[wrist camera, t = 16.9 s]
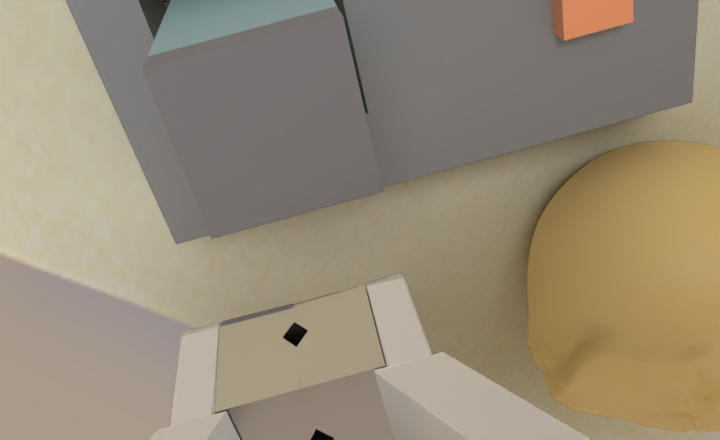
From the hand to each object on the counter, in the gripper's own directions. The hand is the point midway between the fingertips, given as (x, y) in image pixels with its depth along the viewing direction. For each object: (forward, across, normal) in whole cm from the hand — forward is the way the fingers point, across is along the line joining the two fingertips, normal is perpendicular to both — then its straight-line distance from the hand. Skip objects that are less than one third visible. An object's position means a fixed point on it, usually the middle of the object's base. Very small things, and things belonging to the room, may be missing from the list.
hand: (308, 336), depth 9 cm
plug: (+18, 0, 0) cm, 18 cm away
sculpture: (+18, -13, +14) cm, 27 cm away
